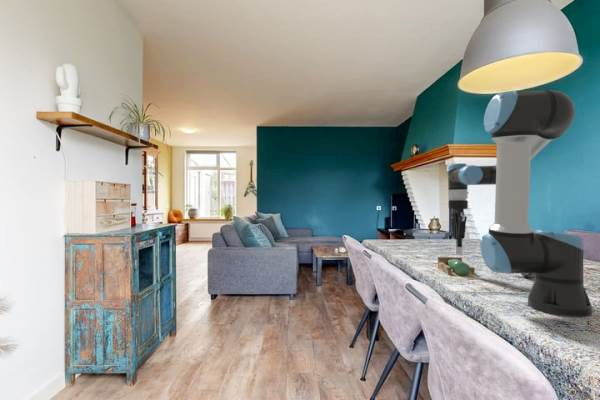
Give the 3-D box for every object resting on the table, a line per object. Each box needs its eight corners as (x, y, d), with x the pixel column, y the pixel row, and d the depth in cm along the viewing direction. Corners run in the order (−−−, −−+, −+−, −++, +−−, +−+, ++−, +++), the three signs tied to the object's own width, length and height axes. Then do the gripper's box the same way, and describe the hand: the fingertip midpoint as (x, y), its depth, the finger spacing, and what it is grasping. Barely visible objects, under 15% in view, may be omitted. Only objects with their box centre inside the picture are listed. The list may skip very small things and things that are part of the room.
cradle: (482, 281, 133) (482, 266, 133) (453, 281, 134) (453, 266, 134) (461, 270, 155) (461, 257, 155) (437, 270, 156) (436, 256, 156)
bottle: (469, 263, 138) (456, 257, 153) (456, 263, 138) (444, 257, 153) (470, 276, 138) (457, 268, 153) (456, 276, 138) (444, 268, 153)
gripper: (473, 199, 137) (473, 256, 137) (461, 199, 150) (461, 252, 150) (454, 199, 137) (454, 256, 137) (444, 199, 150) (444, 251, 150)
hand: (458, 254), depth 143 cm, fingers closed
